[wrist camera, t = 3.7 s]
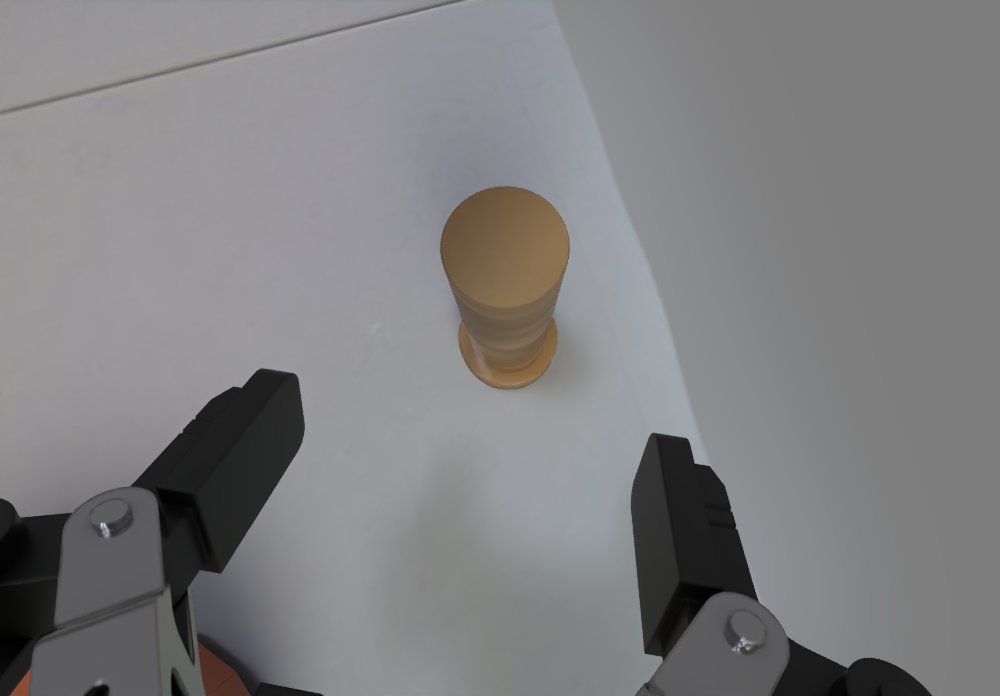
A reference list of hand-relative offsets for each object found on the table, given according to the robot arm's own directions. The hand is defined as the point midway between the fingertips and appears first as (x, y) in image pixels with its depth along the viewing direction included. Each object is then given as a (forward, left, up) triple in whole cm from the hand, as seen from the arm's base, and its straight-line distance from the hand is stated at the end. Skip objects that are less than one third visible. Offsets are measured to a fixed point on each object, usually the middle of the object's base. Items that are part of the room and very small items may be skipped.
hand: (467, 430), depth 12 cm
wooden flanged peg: (+2, -5, -15) cm, 16 cm away
